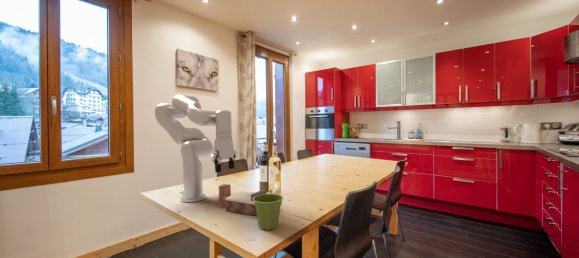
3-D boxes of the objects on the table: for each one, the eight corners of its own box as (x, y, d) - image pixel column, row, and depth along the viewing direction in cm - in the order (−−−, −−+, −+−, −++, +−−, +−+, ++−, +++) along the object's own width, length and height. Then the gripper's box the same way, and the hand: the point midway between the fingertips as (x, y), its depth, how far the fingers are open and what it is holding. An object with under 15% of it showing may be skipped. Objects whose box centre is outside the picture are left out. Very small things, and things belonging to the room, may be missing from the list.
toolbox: (225, 211, 110) (225, 200, 110) (242, 202, 122) (242, 193, 122) (259, 217, 102) (258, 206, 102) (273, 207, 114) (273, 197, 114)
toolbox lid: (225, 200, 110) (225, 192, 110) (242, 192, 122) (242, 185, 121) (258, 205, 102) (258, 197, 102) (273, 196, 114) (273, 189, 114)
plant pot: (289, 225, 94) (289, 197, 94) (267, 236, 85) (267, 205, 85) (269, 218, 102) (268, 191, 101) (246, 227, 93) (246, 198, 93)
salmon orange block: (219, 206, 117) (218, 185, 117) (224, 203, 121) (224, 183, 121) (225, 207, 116) (225, 186, 115) (230, 204, 119) (230, 184, 119)
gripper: (229, 134, 127) (230, 167, 127) (205, 136, 111) (206, 173, 111) (240, 134, 124) (241, 167, 124) (217, 136, 108) (218, 174, 108)
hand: (225, 170), depth 118 cm, fingers open, 9 cm apart
